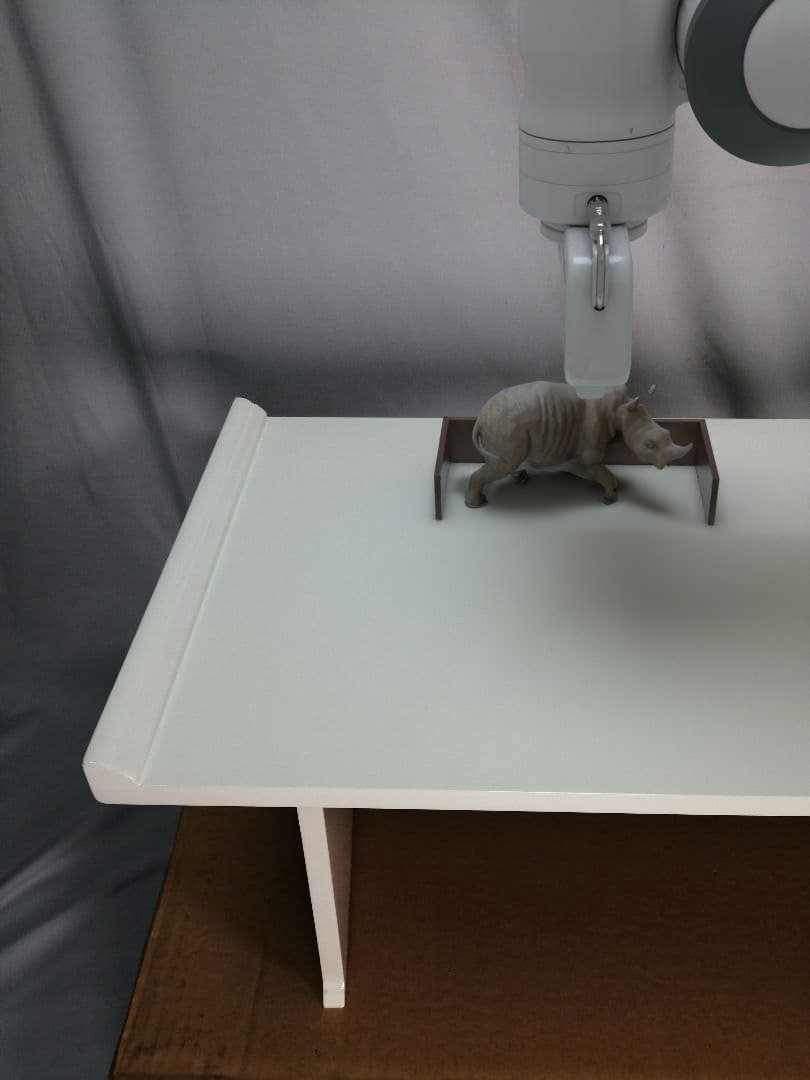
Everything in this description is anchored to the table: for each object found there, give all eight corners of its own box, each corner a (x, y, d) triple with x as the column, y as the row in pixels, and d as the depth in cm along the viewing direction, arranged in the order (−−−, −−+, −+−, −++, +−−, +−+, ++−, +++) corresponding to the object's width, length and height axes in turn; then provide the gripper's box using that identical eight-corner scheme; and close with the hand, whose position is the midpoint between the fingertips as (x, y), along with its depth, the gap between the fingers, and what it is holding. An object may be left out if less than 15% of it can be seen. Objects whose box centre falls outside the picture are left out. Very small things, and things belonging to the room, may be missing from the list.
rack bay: (700, 462, 96) (705, 418, 94) (714, 524, 88) (719, 478, 86) (444, 458, 98) (443, 416, 96) (435, 519, 90) (433, 474, 88)
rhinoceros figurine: (435, 433, 97) (546, 298, 88) (567, 513, 100) (686, 391, 92) (428, 489, 91) (546, 350, 82) (569, 571, 94) (696, 447, 86)
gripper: (665, 230, 59) (651, 468, 67) (638, 127, 76) (629, 326, 84) (539, 234, 60) (540, 469, 68) (540, 131, 77) (540, 328, 85)
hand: (589, 389), depth 76 cm, fingers closed
